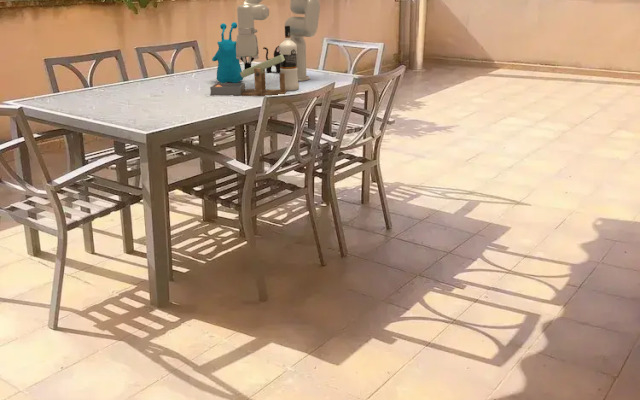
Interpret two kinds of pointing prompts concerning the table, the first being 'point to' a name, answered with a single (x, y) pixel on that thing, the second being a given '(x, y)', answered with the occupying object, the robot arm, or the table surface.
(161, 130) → the table surface
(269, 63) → the lever
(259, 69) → the stand
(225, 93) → the dish
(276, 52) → the toy
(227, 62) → the toy
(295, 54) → the vodka
